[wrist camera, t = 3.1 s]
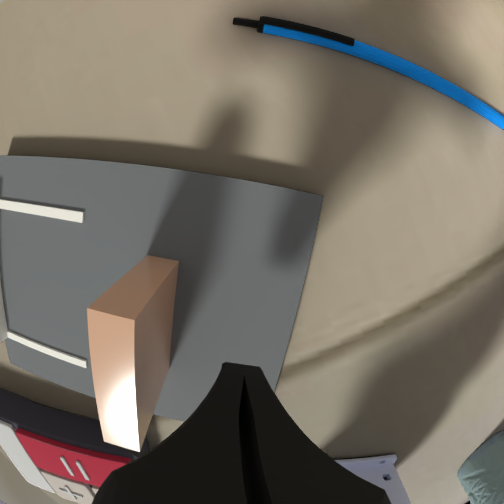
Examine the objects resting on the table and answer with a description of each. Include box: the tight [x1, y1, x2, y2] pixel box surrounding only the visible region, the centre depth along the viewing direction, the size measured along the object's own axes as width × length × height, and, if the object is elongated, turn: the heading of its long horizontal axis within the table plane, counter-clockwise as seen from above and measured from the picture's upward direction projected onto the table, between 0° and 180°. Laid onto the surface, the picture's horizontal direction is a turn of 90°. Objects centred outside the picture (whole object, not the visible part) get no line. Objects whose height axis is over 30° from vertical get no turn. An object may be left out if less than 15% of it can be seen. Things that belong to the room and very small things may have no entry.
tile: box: [87, 255, 179, 452], centre depth 11 cm, size 2×6×6 cm, turn 170°
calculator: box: [0, 388, 150, 504], centre depth 17 cm, size 11×4×15 cm
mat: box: [0, 155, 323, 421], centre depth 14 cm, size 18×14×2 cm
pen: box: [233, 16, 504, 130], centre depth 12 cm, size 1×19×1 cm, turn 79°
